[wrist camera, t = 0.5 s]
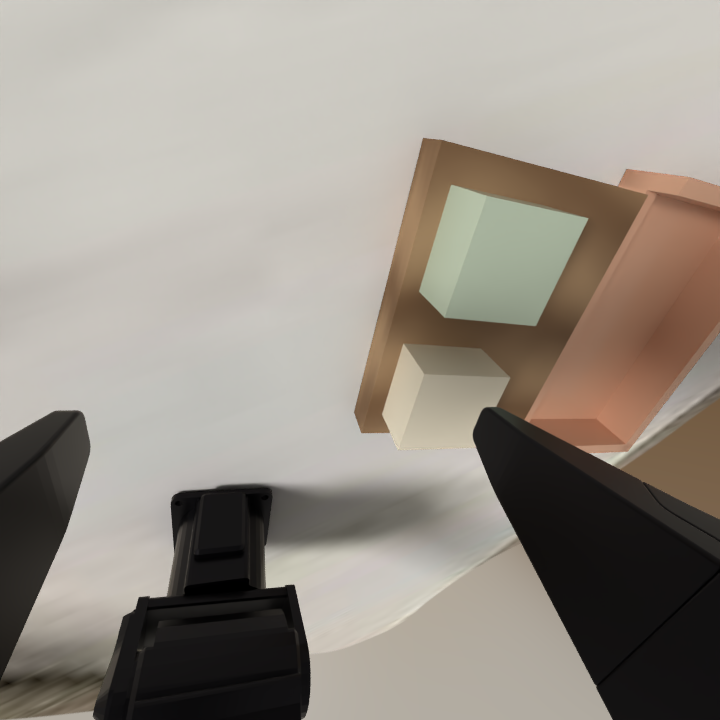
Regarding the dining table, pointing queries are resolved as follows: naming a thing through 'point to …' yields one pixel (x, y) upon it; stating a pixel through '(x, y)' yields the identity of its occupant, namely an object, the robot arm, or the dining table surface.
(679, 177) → the tray
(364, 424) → the board
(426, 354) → the ivory rectangular block
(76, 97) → the dining table surface
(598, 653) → the robot arm
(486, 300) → the sage green square block
